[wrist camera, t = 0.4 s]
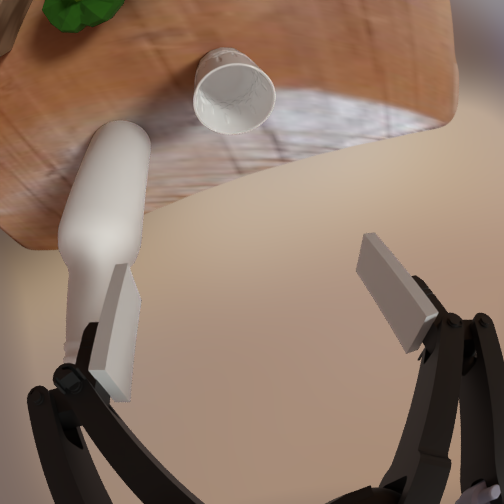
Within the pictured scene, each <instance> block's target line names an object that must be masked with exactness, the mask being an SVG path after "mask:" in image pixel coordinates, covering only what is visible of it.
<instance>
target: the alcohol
mask: <svg viewBox="0 0 504 504" xmlns="http://www.w3.org/2000/svg"><path fill="white" fill-rule="evenodd" d="M150 153H151V142H150V139H149V137H148V134H147V133H146V132H145V131H144V129H142V128H141V127H140V126H139V125H137V124H135V123H133V122H129V121H124V120H118V121H112V122H109V123H106V124H104V125H103V126H101V127H100V128H99V129H98V130H97V131H96V132H95V134H94V136H93V137H92V140H91V142H90V144H89V146H88V148H87V151H86V153H85V155H84V158H83V160H82V162H81V165H80V167H79V170H78V172H77V175H76V177H75V180H74V183H73V185H72V188H71V191H70V194H69V196H68V199H67V202H66V205H65V208H64V211H63V214H62V218H61V221H60V224H59V228H58V248H59V252H60V254H61V256H62V258H63V260H64V262H65V264H66V265H67V267H68V271H69V280H68V294H67V315H66V342H65V343H64V350H65V352H66V353H65V357H64V358H63V362H64V363H72V364H75V363H76V358H77V354H78V350H79V348H80V347H79V346H80V342H81V338H82V335H83V331H84V329H85V328H86V326H87V325H88V324H89V322H99V319H100V315H101V312H102V308H103V304H104V300H105V297H106V293H107V290H108V286H109V283H110V280H111V276H112V273H113V270H114V267H115V265H116V264H124V263H128V264H129V267H131V266H132V265H133V264H134V263H135V260H136V258H137V255H138V253H139V250H140V247H141V241H142V227H143V215H144V203H145V193H146V184H147V176H148V168H149V160H150Z"/></svg>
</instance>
